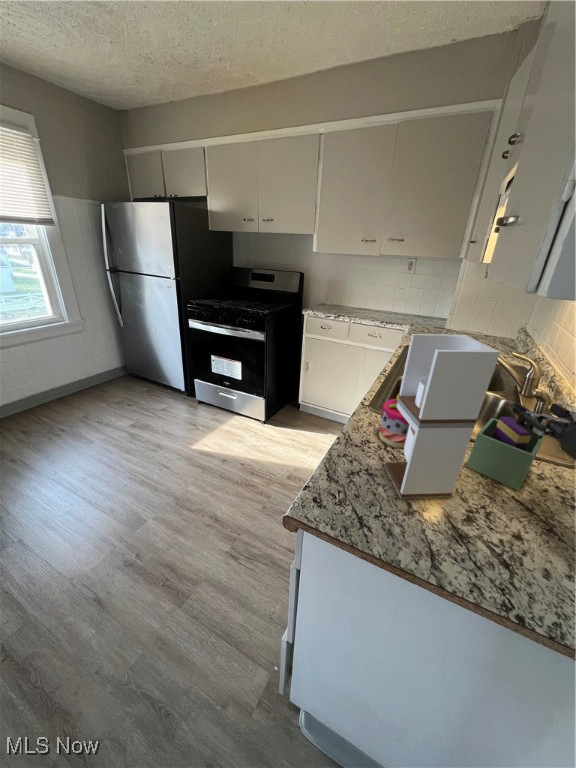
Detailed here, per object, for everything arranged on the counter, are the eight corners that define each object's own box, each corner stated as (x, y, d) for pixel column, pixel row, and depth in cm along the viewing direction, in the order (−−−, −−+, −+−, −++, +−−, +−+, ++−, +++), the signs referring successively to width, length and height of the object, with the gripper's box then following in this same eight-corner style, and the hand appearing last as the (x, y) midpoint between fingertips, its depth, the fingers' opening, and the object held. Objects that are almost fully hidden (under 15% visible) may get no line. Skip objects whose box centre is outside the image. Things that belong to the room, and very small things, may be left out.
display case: (427, 468, 80) (465, 334, 65) (449, 499, 70) (500, 352, 55) (383, 468, 79) (411, 333, 64) (400, 501, 69) (438, 351, 54)
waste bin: (528, 471, 80) (544, 436, 75) (517, 493, 72) (534, 456, 68) (479, 450, 87) (491, 417, 82) (465, 469, 80) (477, 433, 75)
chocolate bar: (494, 458, 83) (511, 416, 77) (513, 477, 76) (532, 433, 71) (483, 458, 82) (499, 416, 77) (501, 477, 76) (520, 433, 70)
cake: (371, 430, 94) (379, 386, 88) (403, 428, 96) (413, 384, 89) (387, 452, 85) (397, 404, 78) (422, 449, 87) (435, 401, 80)
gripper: (653, 434, 53) (571, 391, 68) (573, 434, 52) (507, 391, 67) (631, 469, 56) (557, 421, 71) (555, 470, 56) (496, 421, 70)
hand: (533, 406), depth 69 cm, fingers open, 8 cm apart
